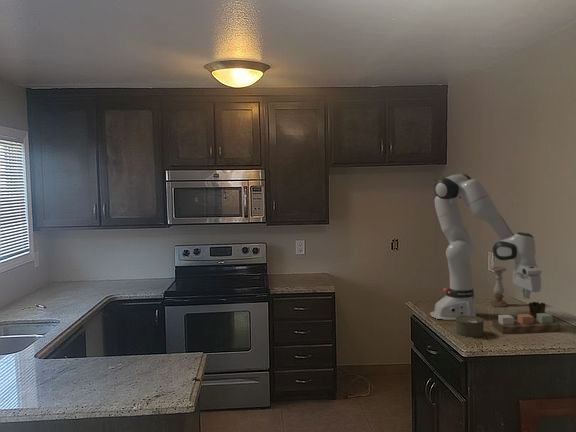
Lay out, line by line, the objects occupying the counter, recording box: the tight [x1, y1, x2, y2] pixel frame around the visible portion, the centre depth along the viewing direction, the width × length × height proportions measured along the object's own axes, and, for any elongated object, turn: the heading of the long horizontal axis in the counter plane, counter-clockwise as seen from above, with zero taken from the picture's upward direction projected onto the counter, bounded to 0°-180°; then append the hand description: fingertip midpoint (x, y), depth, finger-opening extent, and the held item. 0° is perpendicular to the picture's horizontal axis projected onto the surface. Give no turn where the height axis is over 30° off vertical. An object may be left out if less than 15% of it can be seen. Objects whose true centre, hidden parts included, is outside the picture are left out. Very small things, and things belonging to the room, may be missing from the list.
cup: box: [528, 301, 546, 318], centre depth 260 cm, size 8×7×8 cm
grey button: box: [497, 314, 515, 325], centre depth 246 cm, size 5×5×4 cm
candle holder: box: [490, 266, 509, 308], centre depth 290 cm, size 9×9×20 cm
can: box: [455, 315, 485, 338], centre depth 241 cm, size 12×12×7 cm
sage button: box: [537, 312, 554, 323], centre depth 246 cm, size 5×5×4 cm
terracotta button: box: [516, 313, 533, 324], centre depth 246 cm, size 5×5×4 cm
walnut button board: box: [491, 318, 561, 335], centre depth 246 cm, size 26×12×3 cm, turn 92°
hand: (526, 297), depth 245 cm, fingers closed
